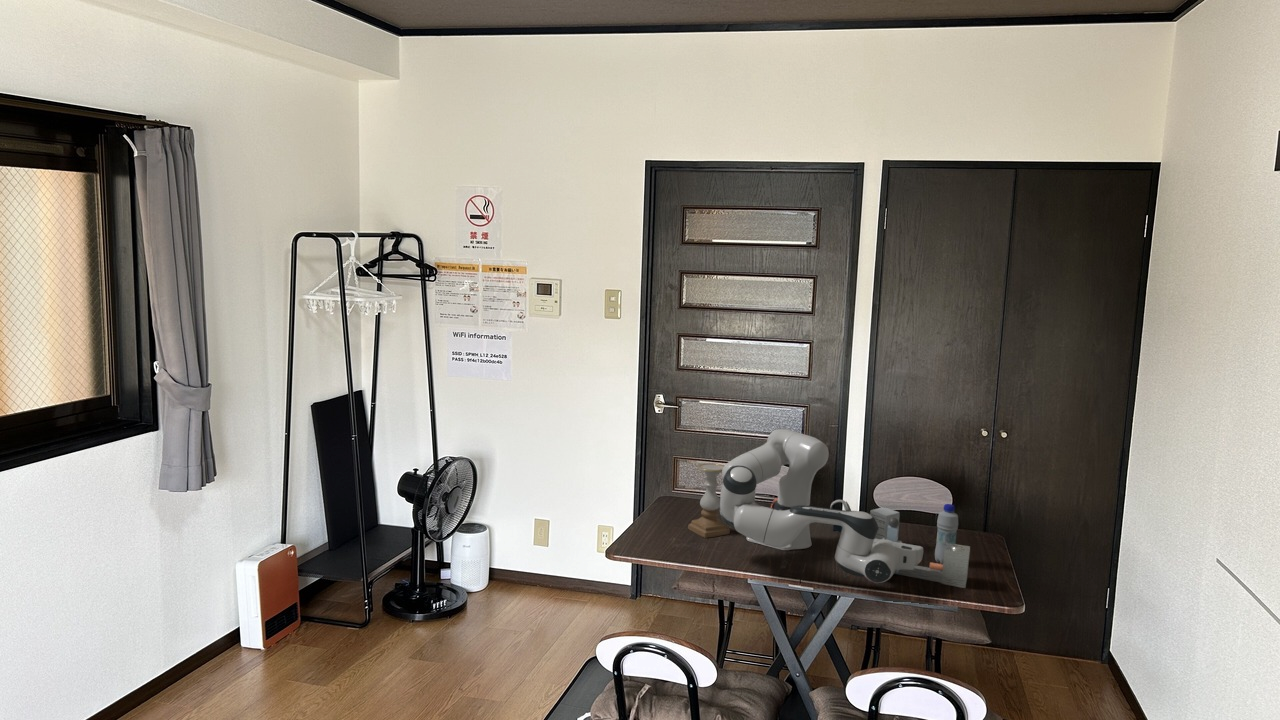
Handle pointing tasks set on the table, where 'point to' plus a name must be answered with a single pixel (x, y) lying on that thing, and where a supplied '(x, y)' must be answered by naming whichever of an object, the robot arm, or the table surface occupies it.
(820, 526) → the table surface
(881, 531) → the supplement box
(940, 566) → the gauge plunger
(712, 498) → the candle holder
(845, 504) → the watch
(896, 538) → the ball-topped pillar
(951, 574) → the grey slide rail
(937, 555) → the bottle
